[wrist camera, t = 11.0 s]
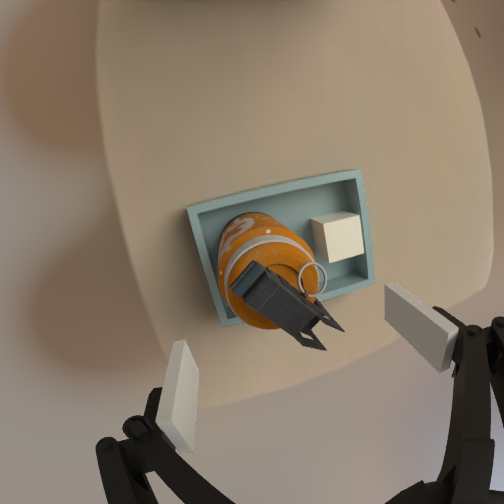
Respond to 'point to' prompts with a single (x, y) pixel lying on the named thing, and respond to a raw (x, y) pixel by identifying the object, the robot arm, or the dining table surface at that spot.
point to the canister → (271, 277)
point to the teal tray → (289, 227)
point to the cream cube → (337, 235)
